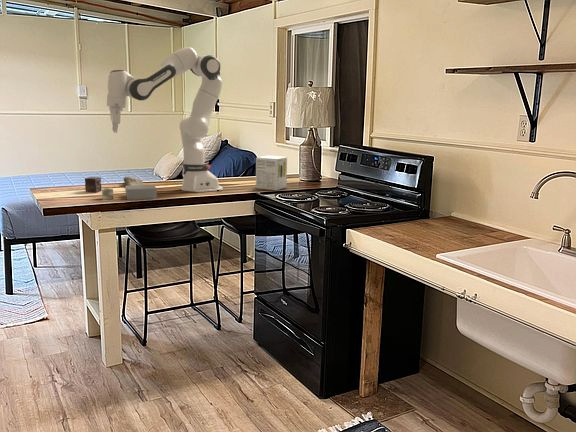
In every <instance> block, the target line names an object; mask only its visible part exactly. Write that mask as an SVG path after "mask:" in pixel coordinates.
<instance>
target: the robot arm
mask: <svg viewBox="0 0 576 432" xmlns="http://www.w3.org/2000/svg"><path fill="white" fill-rule="evenodd" d="M189 70H190V72H191V73H192V74H194V75H195V76H197V77H201V85H200V87H199V88H198V91H197V93H196V95H195V97H194V100H193V102H192V108H191V112H190V116H186V117H183V119H182V120H180V123H179V126H178V127H179V130H180V136H181V142H182V148H183V163H182V173H183V176H182V184H181V188H180V190H181V191H185V192H195V193H203V192H216V191H217V190H219V191H223V188H224V187H223V186H221V185H220V183H219V179H218V178H217V176H216V175H214V174H213V173H212V172H211V171H209V170H210V169H211V165H210V164H206V163H205V148H204V144H203V140H202V138H204V137H205V136H207V134H208V133H209V126H210V121H211V119H212V118H211V116H212V115H213V114H212V113H213V111H214V109H215V107H216V104H217V101H218V99H219V97H220V94H221V91H222V88H223V80H222V78H221V77H220V75H221V62H220V60H219V58H217V57H216V56H215V55H212V54H211V55H210V54H201V55H198V53H197V52H196V50H195V49H194V48H192V47H190V46H186V47H182V48H180V49H176V50H175V51H174V52H172V53H170V54H168V55H167V56H166V57H165V58H163V59H162V61H161V63H160V68H159V70H157V71H155V72H154V73H152V74H151V75H149V76H147V77H145V78H137V77H134V76H133V75H131V74H130V73H128V72H127V71H126V69H125V70H124V69H113V70H111V71H109V74H108V78H107V79H108V81H107V91H108V92H107V96H106V107H108V108H109V109H108V110H109V115H110V121H111V123H112V132H113V133H115V134H116V133H118V127H119V124H121V114H122V113H121V112H123V111H124V110H123V109H125V108H126V102H127V97H129V98H131V99H135V100H138V101H146V100H147V99H149V97H150V96H151V95H152V93H153V92H154V91H155V90H156V89H157V88H158V87H160V86H162V85H163V84H165V83H166V82H168V81H169V80H172V79H174V78H177V77H179V76H180V75H182V74H184V73H185V72H187V71H189ZM217 192H218V191H217Z"/></svg>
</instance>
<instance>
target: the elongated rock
mask: <svg viewBox="0 0 576 432" xmlns="http://www.w3.org/2000/svg"><path fill="white" fill-rule="evenodd" d="M123 182H124V184H125V186H135V185H145V183H144V181H143V180H141V179H140V178H135V177H131V176H124V177H123Z"/></svg>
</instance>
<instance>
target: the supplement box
mask: <svg viewBox="0 0 576 432" xmlns="http://www.w3.org/2000/svg"><path fill="white" fill-rule="evenodd" d="M287 168H288V156H279V155H262V156H258V157H256V158H255V188H256V189H261V190H271V191H279V190H282V189H285V188H287V182H288V181H287V173H288V171H287V170H288V169H287Z"/></svg>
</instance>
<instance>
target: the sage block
mask: <svg viewBox="0 0 576 432" xmlns="http://www.w3.org/2000/svg"><path fill="white" fill-rule="evenodd" d="M101 189H102V191H101V194H102V196H101V198H102V200H103V201H104V200H114V188H113V187H101Z"/></svg>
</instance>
